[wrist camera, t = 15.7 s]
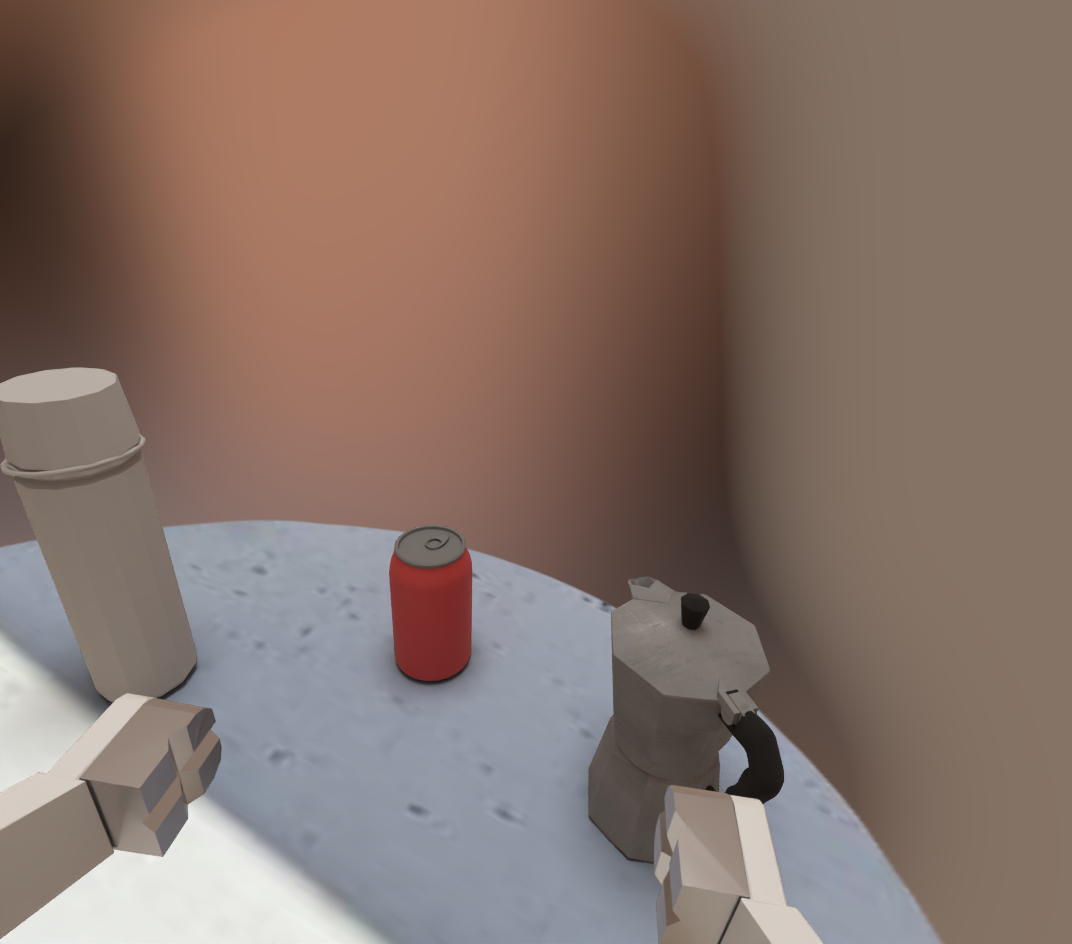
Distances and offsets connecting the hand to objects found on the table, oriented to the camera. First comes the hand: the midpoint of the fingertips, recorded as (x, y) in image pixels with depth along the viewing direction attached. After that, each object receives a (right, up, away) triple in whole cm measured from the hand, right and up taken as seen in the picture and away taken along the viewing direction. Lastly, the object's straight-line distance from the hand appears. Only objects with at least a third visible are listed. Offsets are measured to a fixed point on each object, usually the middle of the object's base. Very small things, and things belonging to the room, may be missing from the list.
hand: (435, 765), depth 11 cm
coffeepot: (+10, -19, +31) cm, 37 cm away
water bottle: (-30, -11, +40) cm, 51 cm away
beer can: (-7, -11, +43) cm, 45 cm away
